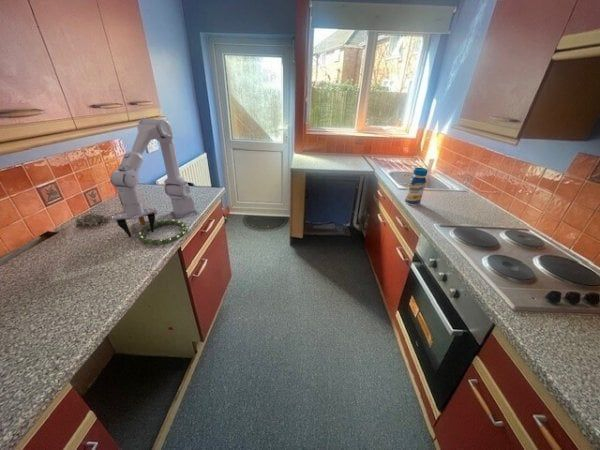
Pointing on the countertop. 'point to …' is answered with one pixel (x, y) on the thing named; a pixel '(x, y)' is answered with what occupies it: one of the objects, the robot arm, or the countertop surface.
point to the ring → (158, 242)
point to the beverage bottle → (416, 186)
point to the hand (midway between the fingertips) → (141, 233)
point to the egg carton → (93, 220)
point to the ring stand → (142, 221)
